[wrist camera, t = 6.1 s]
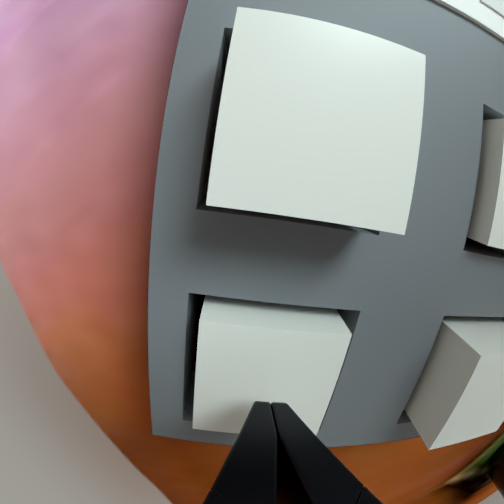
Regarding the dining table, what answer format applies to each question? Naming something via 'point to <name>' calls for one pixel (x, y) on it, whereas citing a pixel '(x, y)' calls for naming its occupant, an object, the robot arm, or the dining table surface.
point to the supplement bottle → (497, 470)
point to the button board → (325, 233)
